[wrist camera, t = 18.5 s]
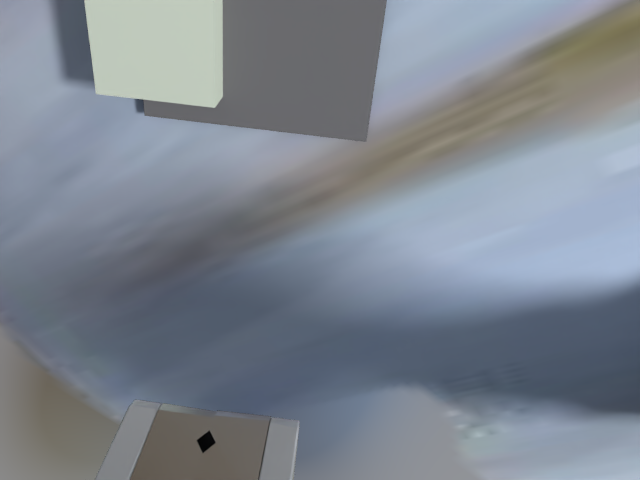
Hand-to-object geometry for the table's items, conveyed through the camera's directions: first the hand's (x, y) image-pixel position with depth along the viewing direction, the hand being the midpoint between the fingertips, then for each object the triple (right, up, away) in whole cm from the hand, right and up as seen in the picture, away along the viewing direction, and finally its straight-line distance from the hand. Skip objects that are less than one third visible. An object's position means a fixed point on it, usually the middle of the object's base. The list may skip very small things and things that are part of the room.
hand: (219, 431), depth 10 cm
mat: (-2, +15, +23) cm, 27 cm away
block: (-4, +14, +22) cm, 26 cm away
